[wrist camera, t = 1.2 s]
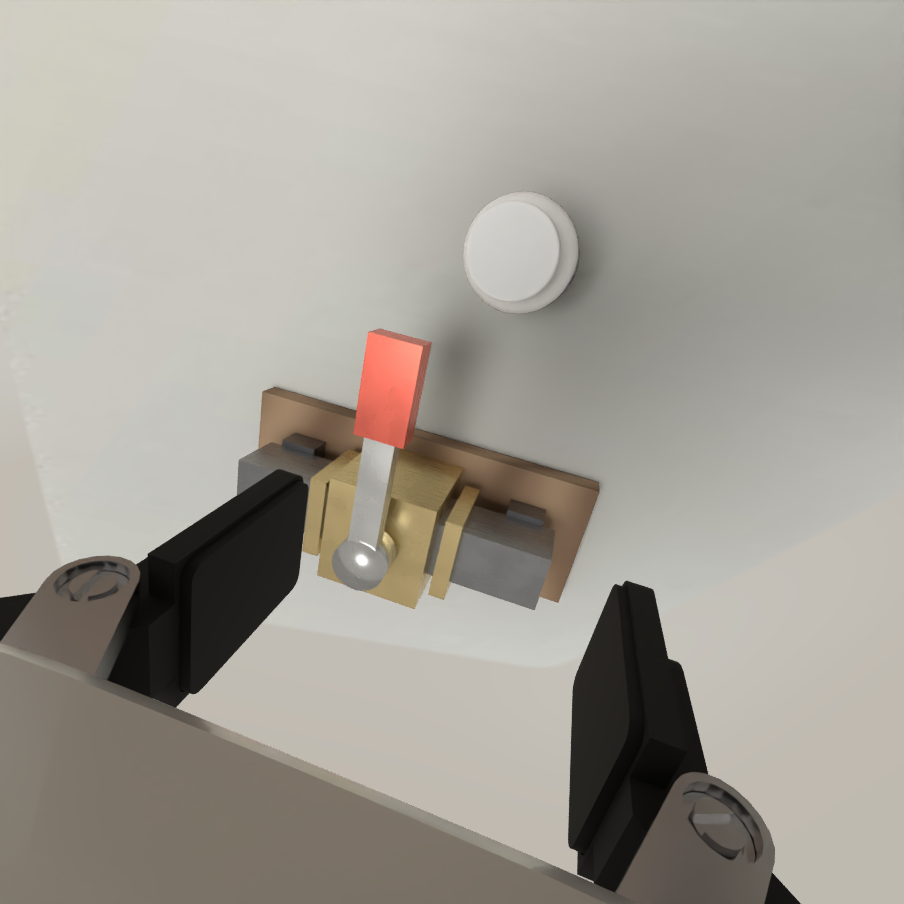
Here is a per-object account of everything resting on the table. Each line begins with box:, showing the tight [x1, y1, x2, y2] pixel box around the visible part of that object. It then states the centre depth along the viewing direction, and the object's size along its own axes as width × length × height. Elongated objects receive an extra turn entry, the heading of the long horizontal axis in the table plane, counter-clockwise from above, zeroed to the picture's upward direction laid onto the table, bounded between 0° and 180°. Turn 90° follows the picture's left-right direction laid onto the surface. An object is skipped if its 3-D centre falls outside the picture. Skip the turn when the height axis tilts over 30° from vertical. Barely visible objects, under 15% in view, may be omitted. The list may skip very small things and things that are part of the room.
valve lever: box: [332, 329, 432, 591], centre depth 26 cm, size 14×3×2 cm, turn 168°
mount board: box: [259, 387, 599, 603], centre depth 36 cm, size 24×9×2 cm, turn 78°
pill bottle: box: [463, 191, 579, 314], centre depth 25 cm, size 5×5×10 cm
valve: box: [237, 432, 555, 610], centre depth 32 cm, size 20×7×7 cm, turn 78°
